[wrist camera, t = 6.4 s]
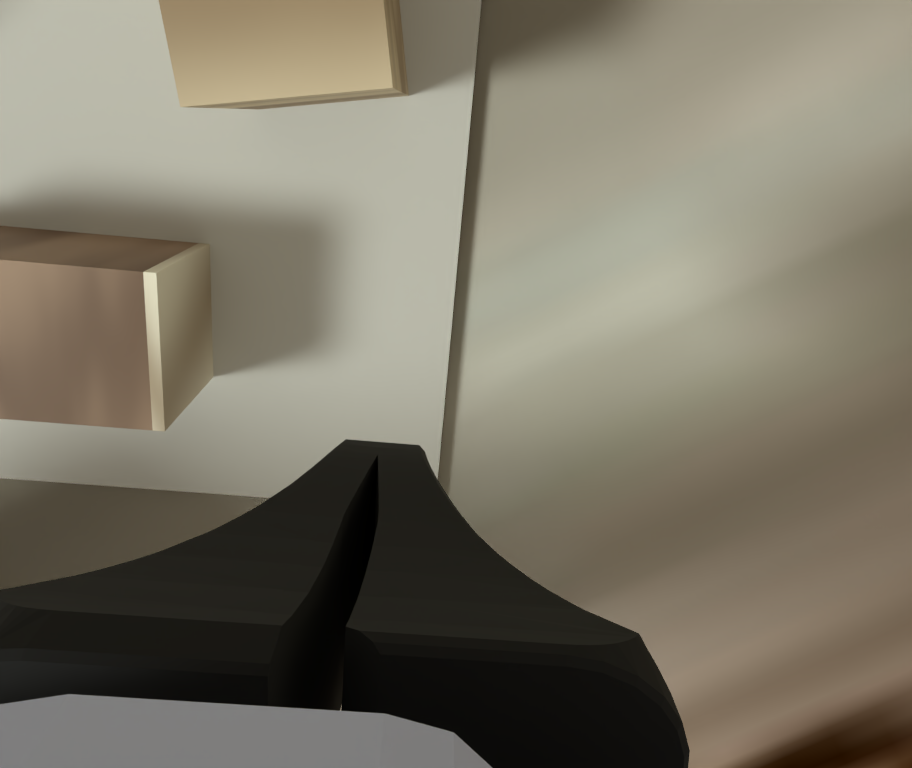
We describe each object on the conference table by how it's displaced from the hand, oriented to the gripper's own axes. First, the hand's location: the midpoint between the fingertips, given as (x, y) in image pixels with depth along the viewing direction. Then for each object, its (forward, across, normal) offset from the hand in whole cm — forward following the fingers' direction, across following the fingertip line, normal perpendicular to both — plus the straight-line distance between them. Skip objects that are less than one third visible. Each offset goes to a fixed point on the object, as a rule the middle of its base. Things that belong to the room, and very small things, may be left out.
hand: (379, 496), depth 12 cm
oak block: (+10, +3, -8) cm, 13 cm away
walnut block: (+8, +6, 0) cm, 10 cm away
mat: (+10, +7, -3) cm, 13 cm away
